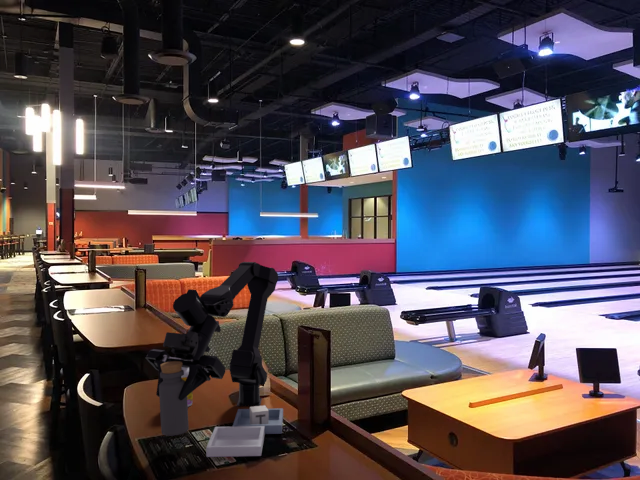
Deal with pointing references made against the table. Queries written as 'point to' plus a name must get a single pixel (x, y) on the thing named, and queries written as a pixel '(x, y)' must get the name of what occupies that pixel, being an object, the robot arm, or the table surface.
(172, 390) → the bottle
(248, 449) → the grey tray
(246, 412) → the blue tray
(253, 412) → the white cube
